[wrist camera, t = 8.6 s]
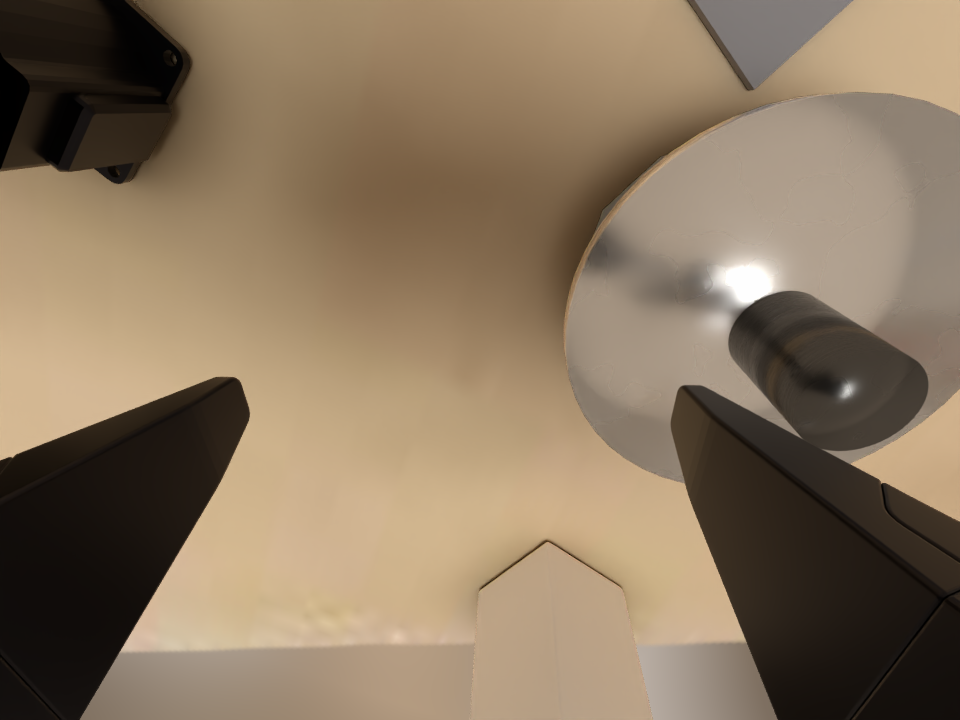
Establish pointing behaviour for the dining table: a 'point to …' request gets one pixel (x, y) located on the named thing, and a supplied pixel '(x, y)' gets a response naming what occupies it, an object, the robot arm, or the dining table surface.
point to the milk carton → (555, 645)
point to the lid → (779, 279)
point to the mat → (763, 31)
